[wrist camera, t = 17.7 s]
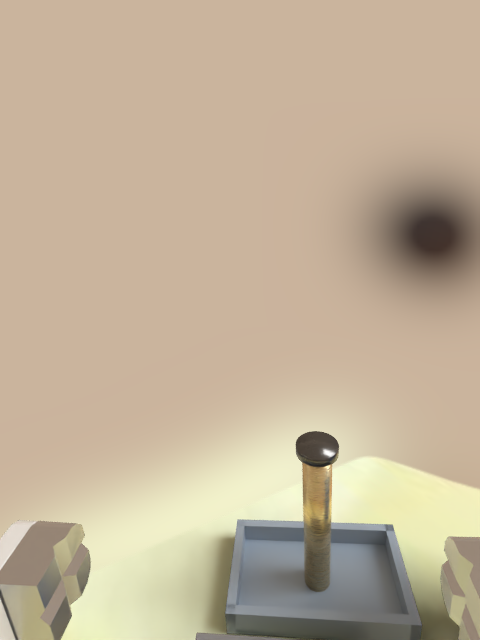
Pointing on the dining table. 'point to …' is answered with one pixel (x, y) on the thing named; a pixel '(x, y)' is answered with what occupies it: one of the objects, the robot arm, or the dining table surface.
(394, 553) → the tray
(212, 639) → the block
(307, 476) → the lock pin
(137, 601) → the dining table surface
